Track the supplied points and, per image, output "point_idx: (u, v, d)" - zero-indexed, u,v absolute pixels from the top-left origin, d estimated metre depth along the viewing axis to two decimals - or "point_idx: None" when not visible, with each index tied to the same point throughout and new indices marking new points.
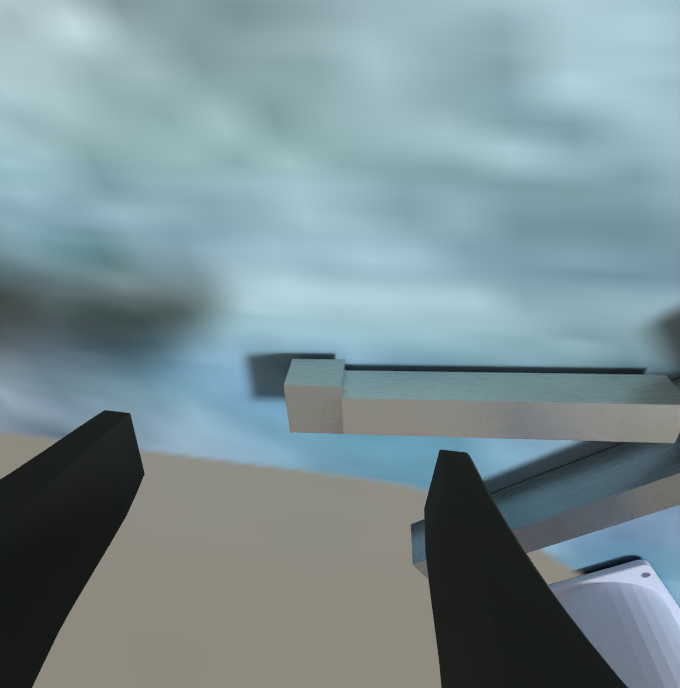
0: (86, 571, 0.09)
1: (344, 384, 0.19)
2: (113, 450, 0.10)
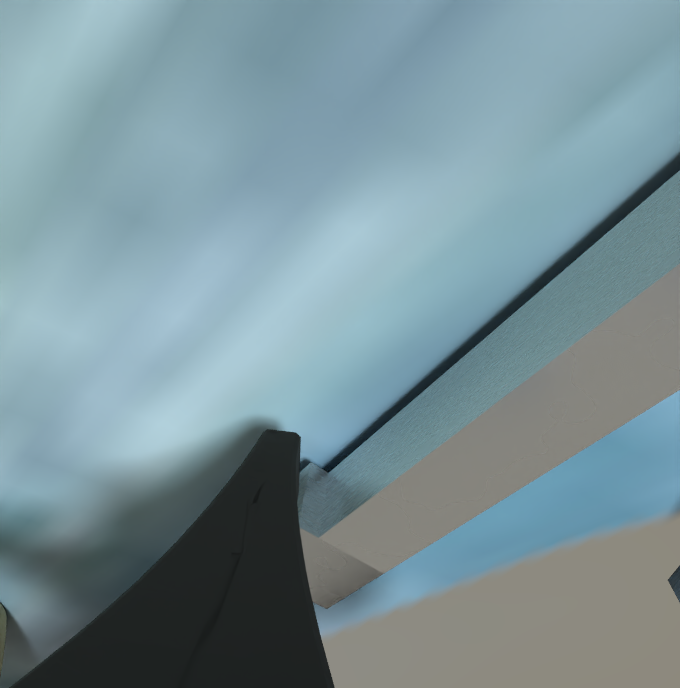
0: None
1: (324, 504, 0.11)
2: None
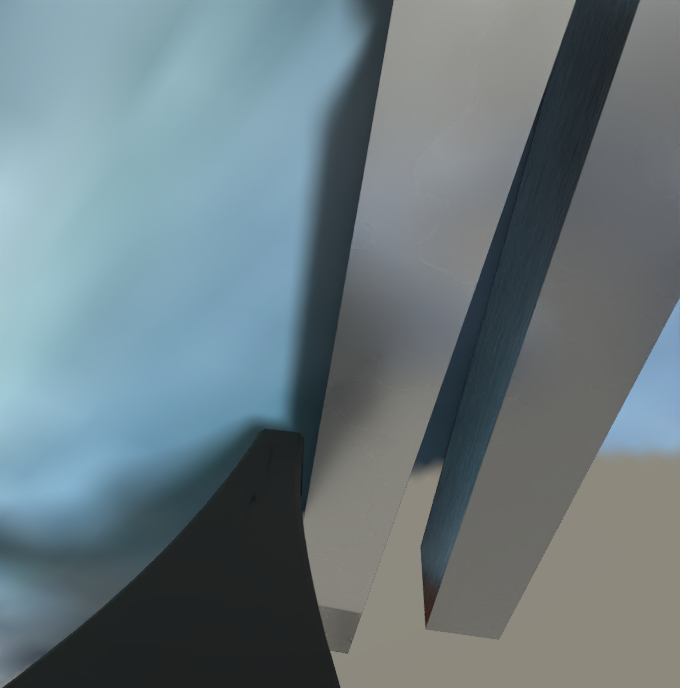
0: None
1: None
2: None
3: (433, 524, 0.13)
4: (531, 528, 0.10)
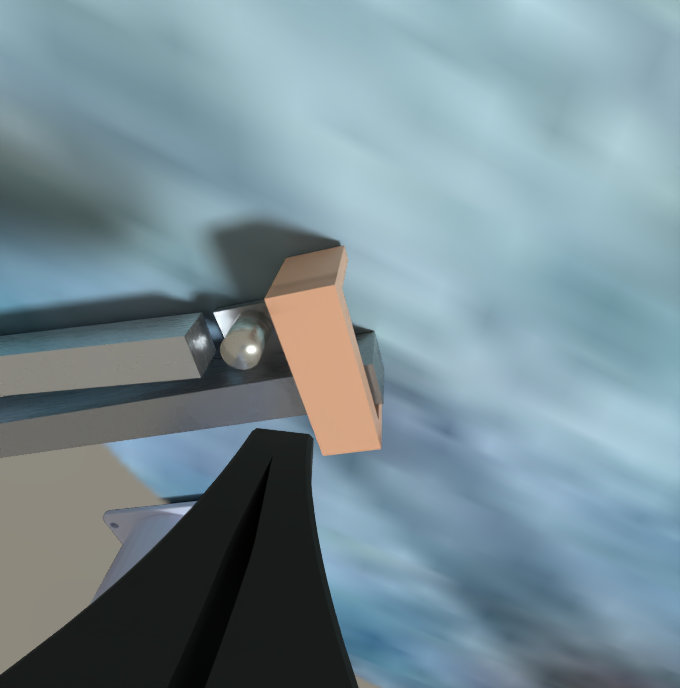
0: None
1: None
2: None
3: (8, 401, 0.23)
4: (46, 442, 0.21)
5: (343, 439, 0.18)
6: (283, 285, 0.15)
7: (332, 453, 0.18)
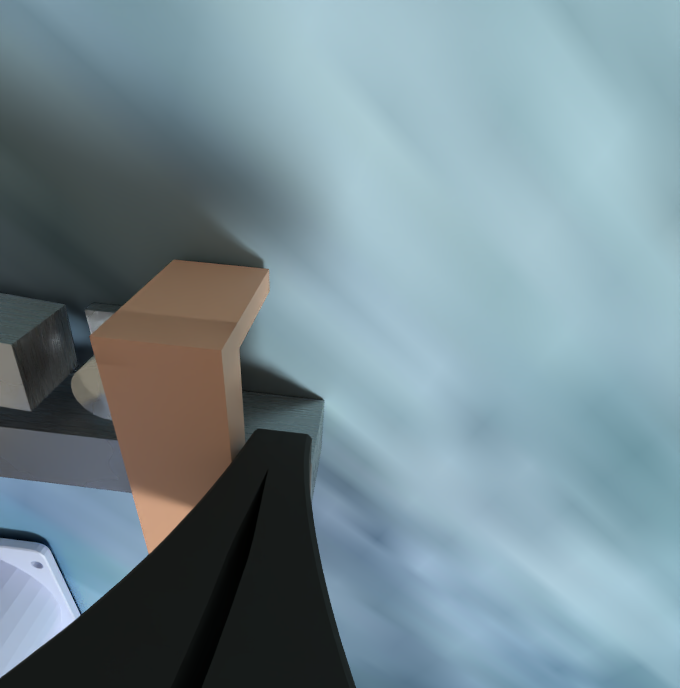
0: None
1: None
2: None
3: None
4: None
5: None
6: (138, 317, 0.09)
7: None
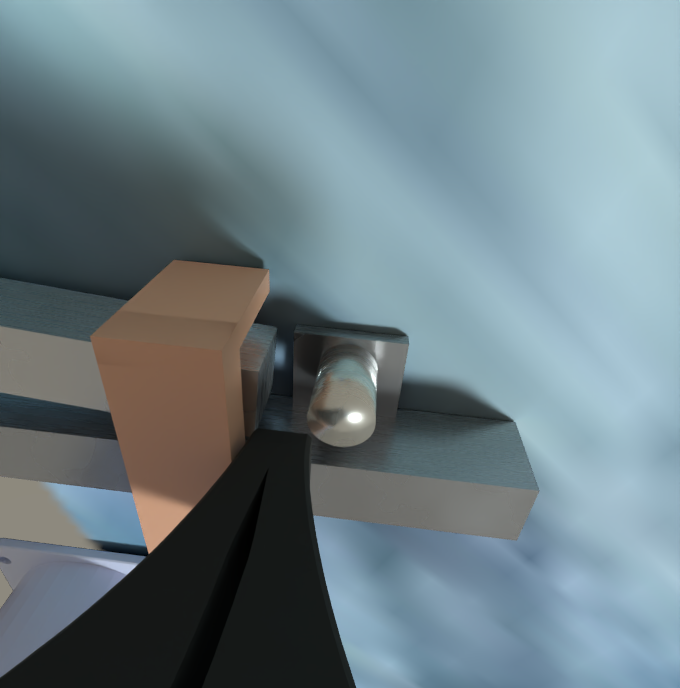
0: None
1: None
2: None
3: None
4: None
5: None
6: (138, 317, 0.09)
7: None
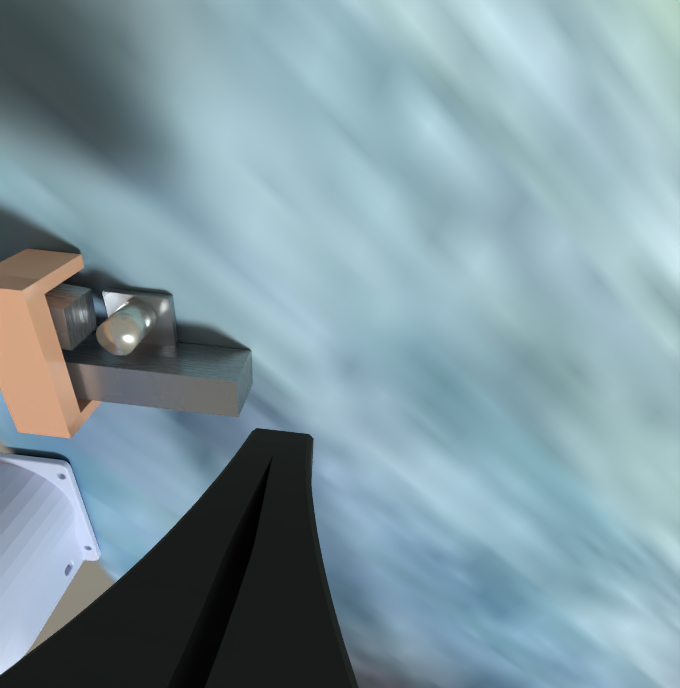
0: None
1: None
2: None
3: None
4: None
5: (36, 422, 0.20)
6: None
7: (26, 432, 0.20)
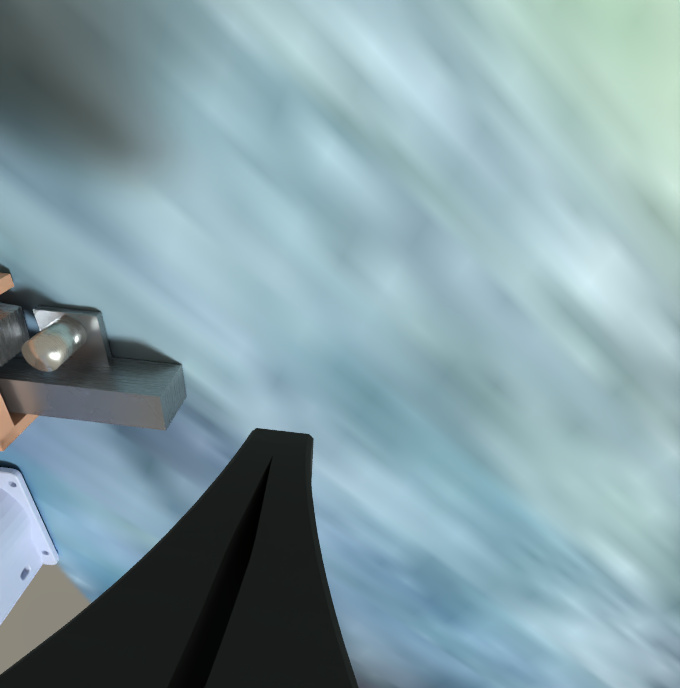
0: None
1: None
2: None
3: None
4: None
5: None
6: None
7: None
